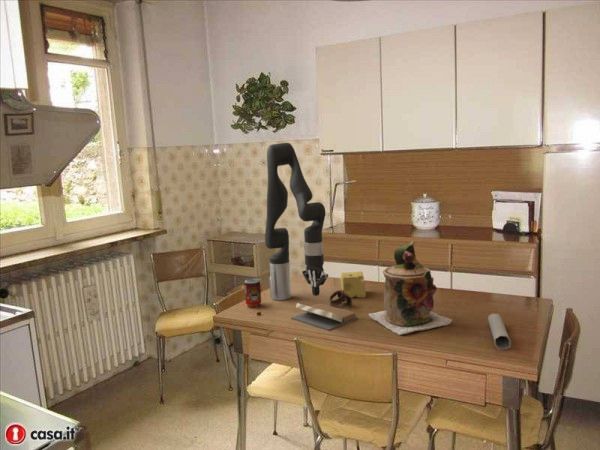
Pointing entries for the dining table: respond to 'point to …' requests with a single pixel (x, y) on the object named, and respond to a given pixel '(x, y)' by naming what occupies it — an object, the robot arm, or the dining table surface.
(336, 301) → the pottery mug
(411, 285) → the cookie jar
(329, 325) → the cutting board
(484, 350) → the dining table surface
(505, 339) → the tube
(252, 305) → the soda can
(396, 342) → the dining table surface
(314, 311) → the plank
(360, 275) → the cheese
